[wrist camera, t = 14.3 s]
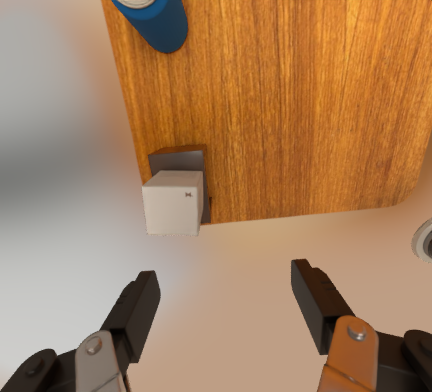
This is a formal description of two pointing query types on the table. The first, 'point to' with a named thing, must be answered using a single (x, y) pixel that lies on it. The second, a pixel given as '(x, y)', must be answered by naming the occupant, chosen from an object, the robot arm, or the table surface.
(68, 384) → the robot arm
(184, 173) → the product box
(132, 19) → the beverage can
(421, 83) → the table surface
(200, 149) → the shelf
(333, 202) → the table surface
